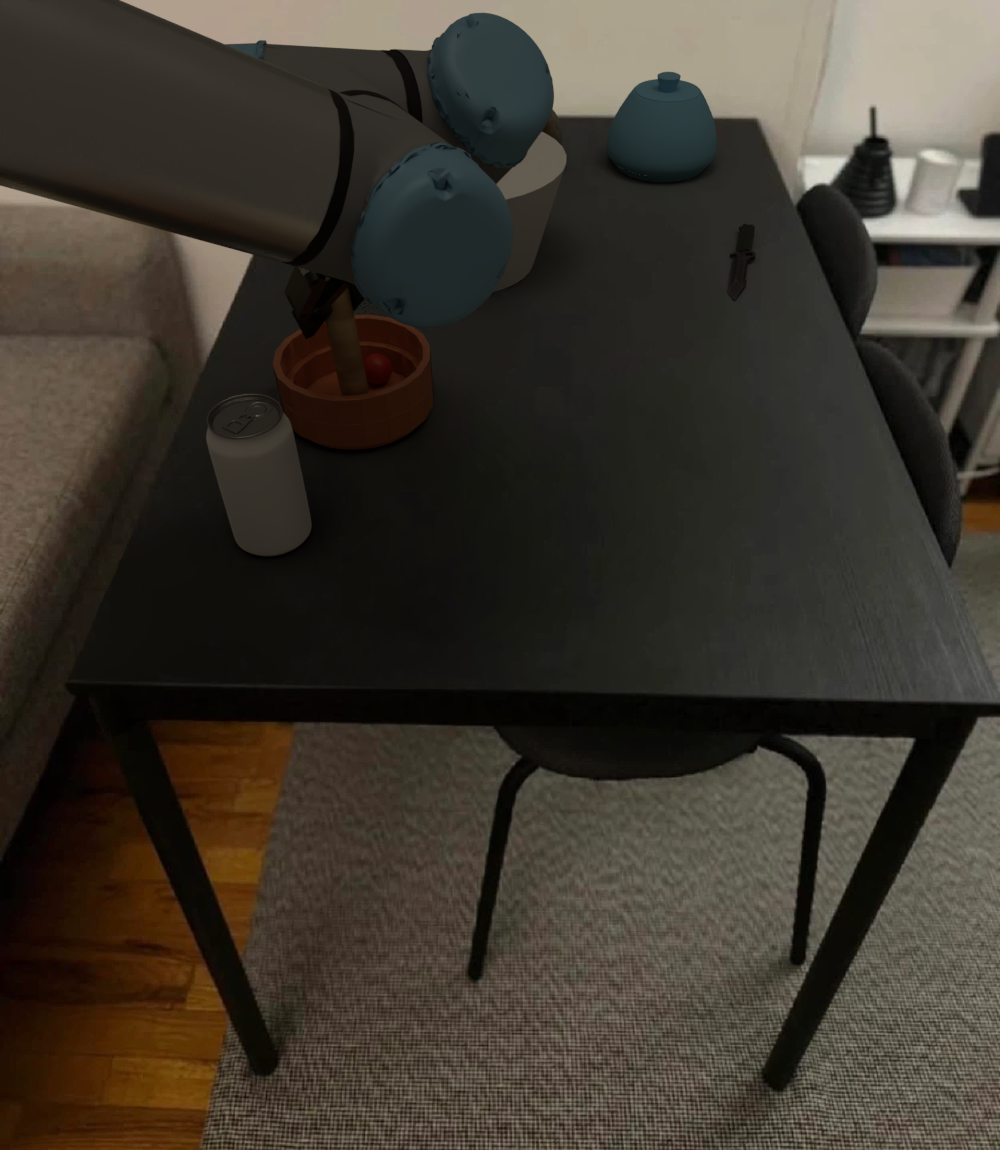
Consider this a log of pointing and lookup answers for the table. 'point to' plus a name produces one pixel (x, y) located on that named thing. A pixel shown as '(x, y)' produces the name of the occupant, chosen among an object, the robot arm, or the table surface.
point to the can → (259, 474)
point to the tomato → (377, 368)
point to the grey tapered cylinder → (530, 203)
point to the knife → (741, 260)
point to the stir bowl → (359, 417)
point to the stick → (346, 347)
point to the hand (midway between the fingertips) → (317, 318)
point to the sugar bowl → (663, 131)
